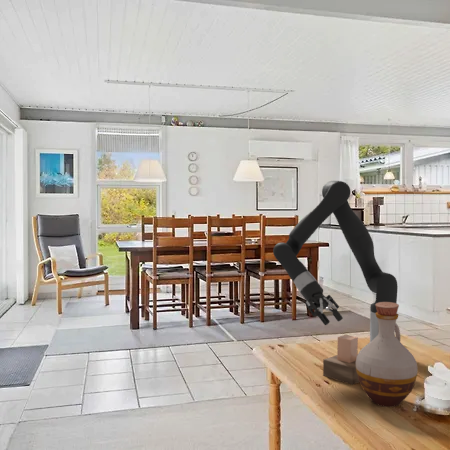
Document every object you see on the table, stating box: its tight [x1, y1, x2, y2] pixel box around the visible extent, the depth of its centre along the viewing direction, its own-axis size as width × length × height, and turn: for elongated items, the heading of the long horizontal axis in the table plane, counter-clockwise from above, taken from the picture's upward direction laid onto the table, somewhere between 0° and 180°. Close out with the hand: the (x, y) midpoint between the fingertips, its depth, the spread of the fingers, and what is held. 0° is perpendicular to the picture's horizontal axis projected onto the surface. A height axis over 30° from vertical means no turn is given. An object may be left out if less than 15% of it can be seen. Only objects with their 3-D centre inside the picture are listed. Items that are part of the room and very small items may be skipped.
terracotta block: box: [336, 334, 359, 363], centre depth 169 cm, size 5×5×8 cm
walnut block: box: [322, 354, 360, 386], centre depth 169 cm, size 12×12×6 cm
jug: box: [356, 302, 418, 408], centre depth 147 cm, size 20×18×30 cm
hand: (334, 321), depth 173 cm, fingers open, 8 cm apart
